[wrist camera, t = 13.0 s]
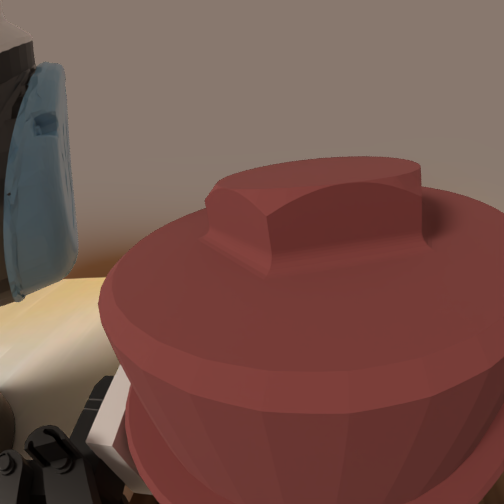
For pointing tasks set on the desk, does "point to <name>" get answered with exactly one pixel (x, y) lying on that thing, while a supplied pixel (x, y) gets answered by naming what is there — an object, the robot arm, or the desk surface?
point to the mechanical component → (316, 340)
